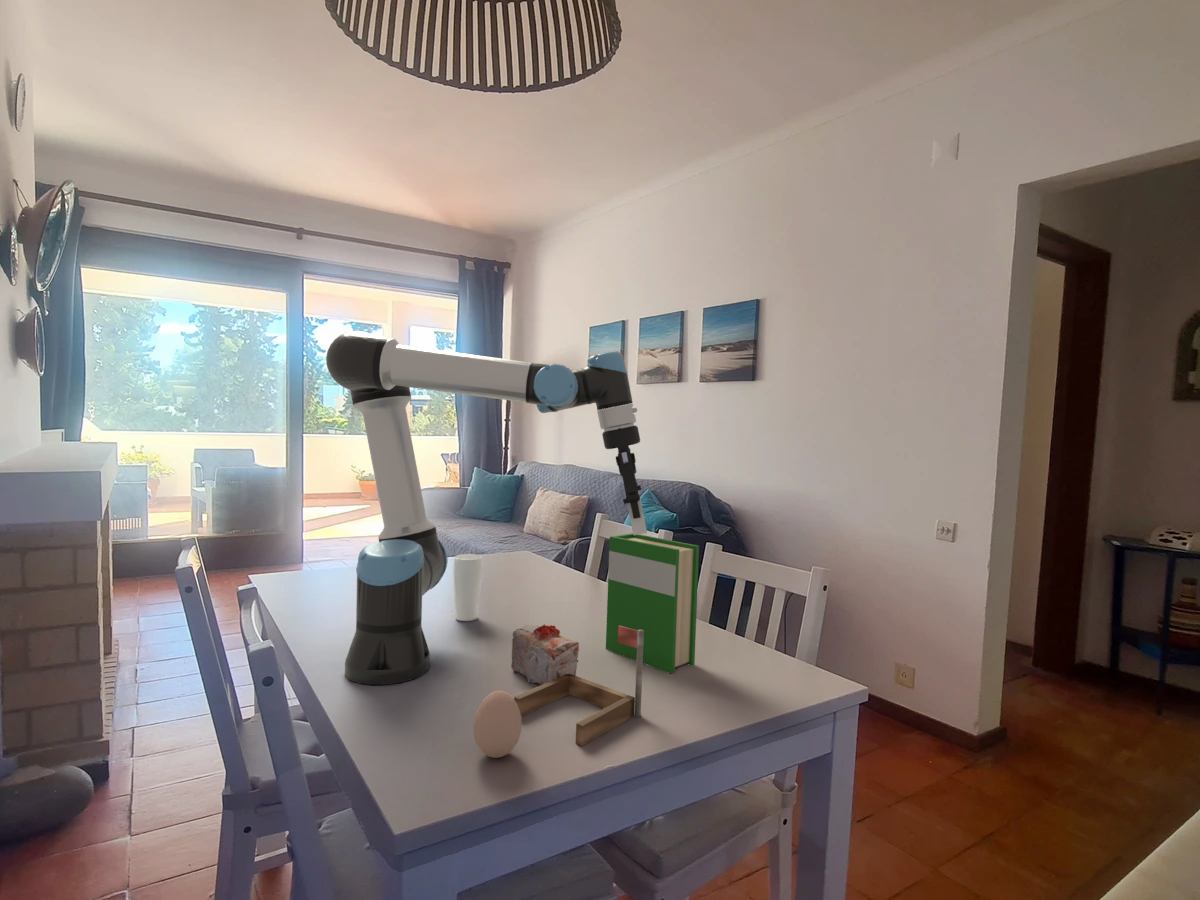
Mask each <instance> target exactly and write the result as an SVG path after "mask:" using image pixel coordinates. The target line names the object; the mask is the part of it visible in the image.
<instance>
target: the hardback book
mask: <svg viewBox="0 0 1200 900" xmlns="http://www.w3.org/2000/svg"><path fill="white" fill-rule="evenodd" d="M608 543H609V549H608V574H607V577H608V578H607V599H606V600H607V602H606V603H607V605H606V606H607V607H606V609H607V610H606V630H605V631H606V632H605V633H606V635H605V650H606V651H607V650H608V651H610V652H613V653H615V654H617V653H618V655H620V654H621V655H620V656H623V655H624V656H623V657H625V656H626V658H628V657H629V659H631V658H632V659H631V660H633V659H635V660H634V661H636V660H637V648H635V647H631V646H628V645H625V644H621V643H618V626H623V627H627V628H630V629H634V630H644V640H643V664H644V663H645V664H644V665H646V664H648V665H647V666H649V665H650V666H649V667H652V666H653V668H654V667H655V668H654V669H657V668H658V669H657V670H660V669H661V670H660V671H662V670H663V671H662V672H665V671H666V672H665V673H667V672H669V673H668V674H670V673H673V674H675V673H674V672H676V671H675V669H676V667H678V666H681V665H685V663H687V664H686V665H688V664H690V665H689V666H691V665H692V666H694V665H695V664H696V663H695V660H696V658H695V657H696V656H695V655H696V638H697V635H696V633H697V614H698V613H697V609H698V585H699V583H698V582H699V560H700V559H699V558H700V545H697V544H691V543H685V542H681V541H675V540H671V539H664V538H659V537H654V536H651V535H650V536H649V535H643V534H638V535H633V532H632V533H627V534H626V533H624V534H619V535H611V536H609V542H608Z"/></svg>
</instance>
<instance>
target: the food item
mask: <svg viewBox="0 0 1200 900" xmlns="http://www.w3.org/2000/svg"><path fill="white" fill-rule="evenodd" d="M556 627H557V626H556V625H551V624H550V625H546V624H543V625H541V626H539V625H537V624H534V625H533V624H532V625H531V624H529V625H528V624H527V625H525V626H522V627H519V628H516V629H515V630H514V631H513V632H512V643H511V645H512V646H511V666H510V667H511V670H512V671H514V672H516V673H520V674H521V675H523V676H525V677H526V679H527V682H528V681H529V683H533V684H538V685H539V686H540V685H543V684H545V683H547V682H550V681H552V680H554V679H557V678H559V677H561V676H564V675H566V674H568V673H569V674H572V675H575V676H577V668H578V663H579V660H578V658H579V651H580V644H579V643H580V642H578V641H575V640H573V639H569V638H567V637H565V636H562V635H560V634H561V632H560V630H559V629H558V628H556Z"/></svg>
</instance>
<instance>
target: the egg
mask: <svg viewBox="0 0 1200 900" xmlns="http://www.w3.org/2000/svg"><path fill="white" fill-rule="evenodd" d="M473 723H474V724H473V735H474V740H475V742H476V744H477V746H478V748H479V750H481V752H482V753H483V754H485V755H486V756H487V757H489V758H494V759H498V758H503V757H504V756H507V755H508V754H509V753H510V752H512V751H513V750H514V748H515V747H516V746H517V744H518V742H519V740H520V737H521V734H522V733H521V732H522V727H523V726H522V716H521V714H520V710H519V708H518V705H517V703H516V702H515V700H514V697H513V696H512V695H511V694H510V693H509V692H507V691H504V690H501V689H500V690H494V691H492V692H490V693H488V695H486V696H485V697H484V698H483V700H482V701H481V702H480V704H479V707H478V709H477V710H476V714H475V716H474V722H473Z"/></svg>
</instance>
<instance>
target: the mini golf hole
mask: <svg viewBox="0 0 1200 900" xmlns="http://www.w3.org/2000/svg"><path fill="white" fill-rule="evenodd" d="M643 640H644V630H634V629H630V628H627V627H623V626H618V643H621V644H625V645H628V646H631V647H635V648H637V661H636V665H635V666H636V668H635V671H636V672H635V690H634V691H635V695H634V696H632V695H629V694H626V693H623V692H621V691H619V690H615V689H613V688H611V687H610V688H609V687H607V686H604V685H602V684H599V683H596V682H593V681H591V680H588V679H586V678H582V677H580V676H578V675H576V676H575V675H572V674H569V673H568V674H566V675H564V676H561V677H559V678H557V679H554V680H552V681H550V682H547V683H545V684H543V685H540V684H539V686H536V687H533V688H532V689H528V690H526V691H524V692H522V693H520V694H517V695H515V696H514V697H513V698H514V700H515V702H516V703H517V705H518V708H519V710H520V714H521V717H523V716H525V715H527V714H529V712H530V713H532V712H534V711H535V710H538V709H540V708H542V707H544V706H546V705H548V704H550V703H552V702H555V701H557V700H559V699H562V698H563V697H566V696H568V695H570V696H573V697H575V698H577V699H580V700H583V701H585V702H587V703H590V704H593V705H595V706H599V707H601V708H602V709H600V710H598V711H597V712H595V713H593V714H591V715H589V716H587V717H586V718H584V719H582V720H580V721H578V722H577V723H576V726H575V744H576V745H578V746H581V747H583V746H585V745H586V744H588V743H589V742H591V741H593V740H595V739H596V738H598V737H601V735H604V734H605V733H607V732H608V731H610V730H612V729H613V728H615V727H617V726H619V725H620V724H622V723H623V722H626V721H627V720H629V719H631V718H633V717H636V718H639V717H641V714H642V689H643V664H644V663H643ZM533 710H534V711H533ZM531 711H532V712H531Z"/></svg>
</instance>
